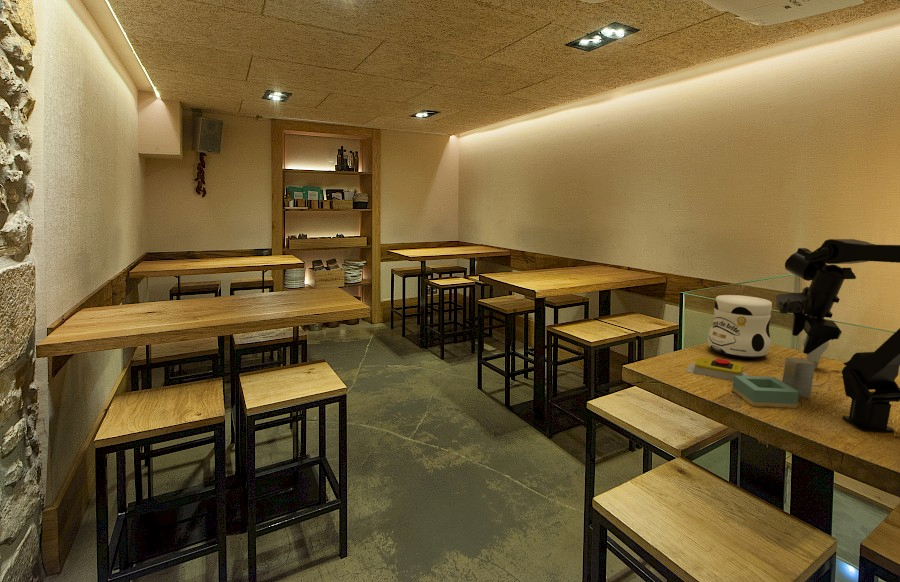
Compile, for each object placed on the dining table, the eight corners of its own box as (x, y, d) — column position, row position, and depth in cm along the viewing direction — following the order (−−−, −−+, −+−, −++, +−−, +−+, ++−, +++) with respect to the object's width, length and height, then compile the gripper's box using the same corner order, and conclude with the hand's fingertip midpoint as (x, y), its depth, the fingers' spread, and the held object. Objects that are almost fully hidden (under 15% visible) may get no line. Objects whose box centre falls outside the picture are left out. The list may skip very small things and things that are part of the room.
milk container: (701, 354, 154) (708, 300, 151) (711, 342, 168) (717, 292, 164) (765, 366, 144) (773, 307, 140) (770, 352, 157) (778, 298, 154)
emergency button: (747, 369, 129) (686, 359, 137) (745, 385, 130) (684, 373, 138) (750, 360, 136) (691, 351, 145) (748, 375, 137) (690, 365, 146)
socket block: (796, 408, 114) (799, 392, 114) (752, 406, 115) (754, 390, 114) (772, 391, 124) (774, 377, 123) (732, 390, 125) (734, 375, 124)
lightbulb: (828, 373, 138) (835, 336, 136) (805, 371, 140) (810, 335, 138) (817, 366, 144) (823, 330, 142) (794, 364, 146) (800, 329, 144)
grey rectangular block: (809, 398, 120) (815, 363, 119) (791, 397, 121) (796, 363, 119) (798, 391, 125) (804, 358, 123) (781, 390, 125) (785, 357, 123)
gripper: (775, 269, 125) (756, 321, 132) (797, 298, 109) (773, 356, 116) (825, 276, 123) (802, 329, 129) (854, 308, 107) (826, 366, 113)
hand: (799, 344), depth 122 cm, fingers open, 9 cm apart
